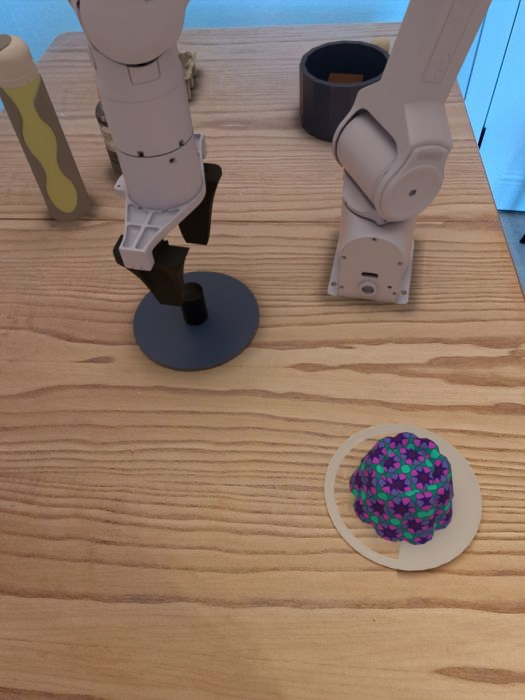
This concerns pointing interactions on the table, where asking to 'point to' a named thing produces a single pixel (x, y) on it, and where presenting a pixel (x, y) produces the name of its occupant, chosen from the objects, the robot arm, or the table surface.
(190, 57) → the egg carton
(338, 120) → the pot
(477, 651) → the table surface
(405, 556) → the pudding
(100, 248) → the table surface
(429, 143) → the robot arm
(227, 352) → the lid
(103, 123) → the pill bottle
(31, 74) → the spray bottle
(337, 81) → the block
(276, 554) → the table surface
